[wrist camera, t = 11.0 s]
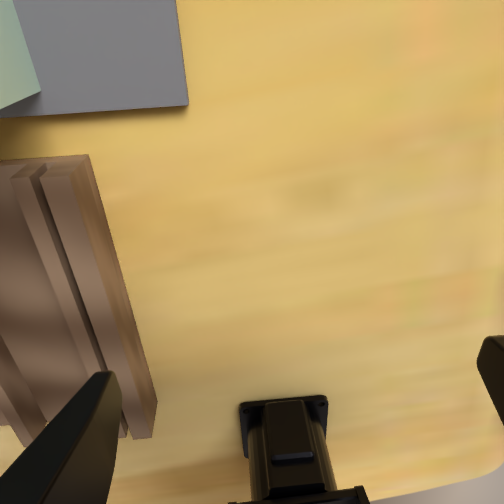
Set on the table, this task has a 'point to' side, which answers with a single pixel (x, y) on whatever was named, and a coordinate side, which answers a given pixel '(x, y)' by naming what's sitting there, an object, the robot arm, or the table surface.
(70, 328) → the board rack
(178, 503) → the table surface
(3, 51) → the tall board
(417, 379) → the table surface
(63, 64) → the rubber mat
